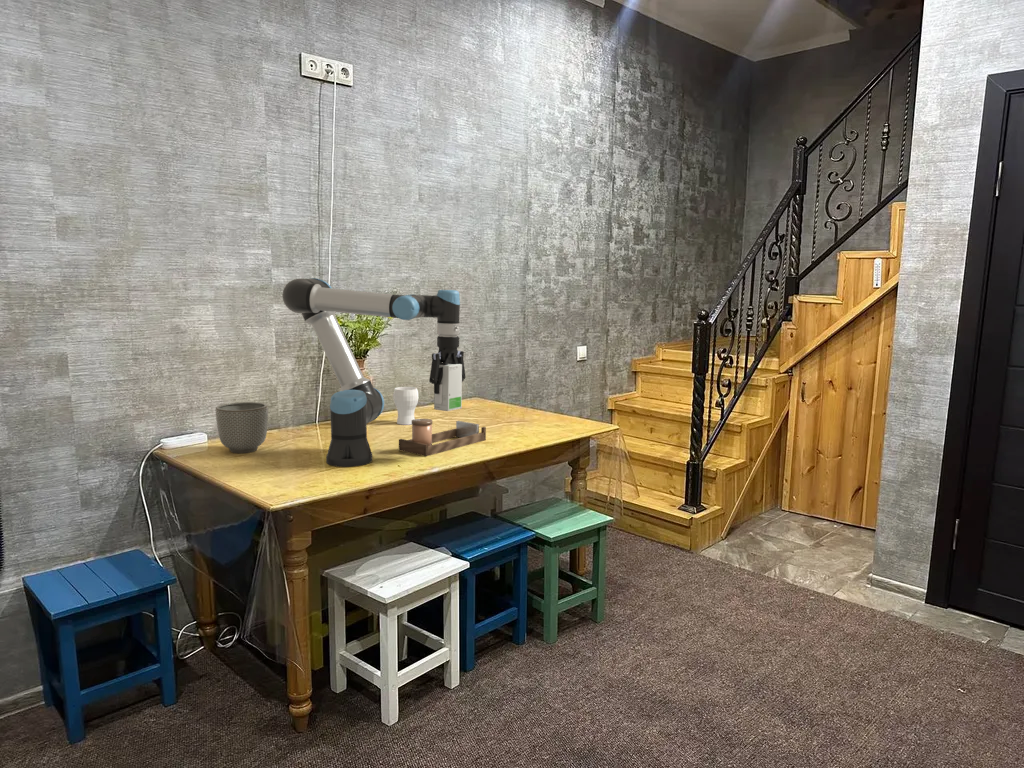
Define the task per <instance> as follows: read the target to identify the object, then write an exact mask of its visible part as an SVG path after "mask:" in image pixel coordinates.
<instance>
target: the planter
mask: <svg viewBox="0 0 1024 768" xmlns="http://www.w3.org/2000/svg"><path fill="white" fill-rule="evenodd" d="M215 417H216V418H215V419H216V424H217V425H216V426H217V432H218V437H219V441H220V442H221V444H222V445H223V446H224V447H225V448H228V449H229V451H230V452H231V453H233V454H249V453H253V452H255V451H257V450H258V447H260V446H261V445H262V444H263V443H264V442H265V440H266V438H267V435H268V434H267V433H268V425H269V424H268V423H269V421H268V419H269V406H268V404H267V403H265V402H260V401H259V402H257V401H256V402H255V401H241V402H239V401H238V402H237V401H236V402H231V403H230V402H227V403H224V404H219V405H217V406H216V407H215Z"/></svg>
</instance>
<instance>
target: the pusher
mask: <svg viewBox="0 0 1024 768" xmlns="http://www.w3.org/2000/svg"><path fill="white" fill-rule="evenodd" d="M455 422H456V427H455V429H456V436H457V438H458V437H459V438H462V437H466V436H470V435H473V434H477V433H480V424H478V423H473V422H467V421H462V420H455Z"/></svg>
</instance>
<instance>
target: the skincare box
mask: <svg viewBox="0 0 1024 768" xmlns="http://www.w3.org/2000/svg"><path fill="white" fill-rule="evenodd" d="M440 367H443V377H442V380H441V384H442V404H439V403H435V394H434V393H433V396H434V398H433V410H437V411H443V412H444V411H445V412H451V411H455V410H460V409H463V408H462V407H463V406H462V405H463V403H462V401H463V400H462V399H463V398H462V397H463V393H462V392H463V382H462V364H449V363H448V365H439V368H440ZM437 381H438V380H437Z"/></svg>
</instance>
